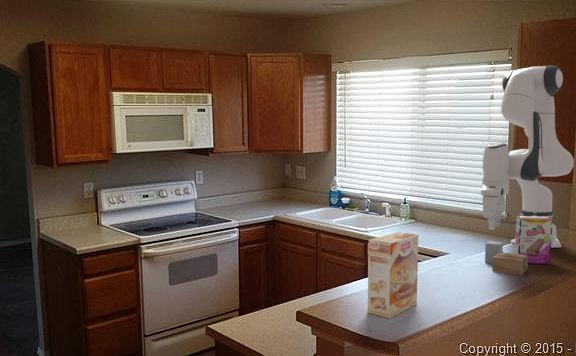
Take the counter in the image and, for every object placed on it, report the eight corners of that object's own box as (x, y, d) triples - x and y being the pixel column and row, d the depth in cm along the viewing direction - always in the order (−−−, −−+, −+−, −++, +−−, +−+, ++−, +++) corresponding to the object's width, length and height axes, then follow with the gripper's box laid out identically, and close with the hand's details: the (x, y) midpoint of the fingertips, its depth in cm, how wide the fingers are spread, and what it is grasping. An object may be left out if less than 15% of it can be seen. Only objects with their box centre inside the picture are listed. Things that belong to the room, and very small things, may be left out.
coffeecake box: (390, 319, 142) (391, 243, 141) (366, 313, 147) (367, 239, 145) (418, 304, 154) (419, 234, 152) (395, 299, 158) (396, 231, 156)
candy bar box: (518, 264, 198) (519, 217, 197) (514, 260, 203) (515, 215, 202) (551, 264, 197) (553, 218, 195) (546, 261, 202) (548, 216, 200)
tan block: (500, 266, 196) (500, 252, 196) (527, 270, 191) (528, 255, 190) (492, 271, 189) (493, 257, 188) (520, 275, 184) (521, 260, 183)
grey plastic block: (487, 259, 204) (488, 240, 204) (502, 261, 202) (503, 242, 201) (484, 262, 200) (485, 243, 200) (499, 264, 198) (500, 244, 197)
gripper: (492, 186, 209) (491, 223, 210) (479, 190, 192) (478, 231, 192) (510, 187, 206) (509, 224, 207) (499, 191, 188) (498, 232, 189)
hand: (494, 228), depth 199 cm, fingers open, 8 cm apart
